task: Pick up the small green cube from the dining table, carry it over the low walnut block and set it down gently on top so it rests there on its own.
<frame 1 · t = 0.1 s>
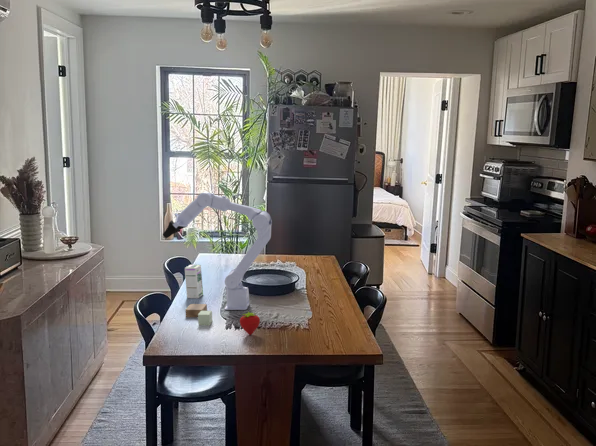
hand: (167, 234, 218), 32 cm above the table, tool tilted 50°, fingers open, 7 cm apart
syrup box: (194, 296, 237), on the table
green cube: (205, 323, 204), on the table
block: (196, 314, 214), on the table
strawberry: (250, 335, 191), on the table
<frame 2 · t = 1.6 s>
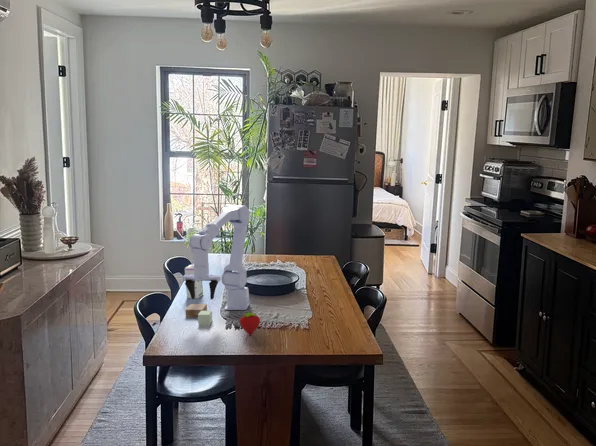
hand: (202, 298, 202), 10 cm above the table, tool pointing down, fingers open, 7 cm apart
nothing on the table moved.
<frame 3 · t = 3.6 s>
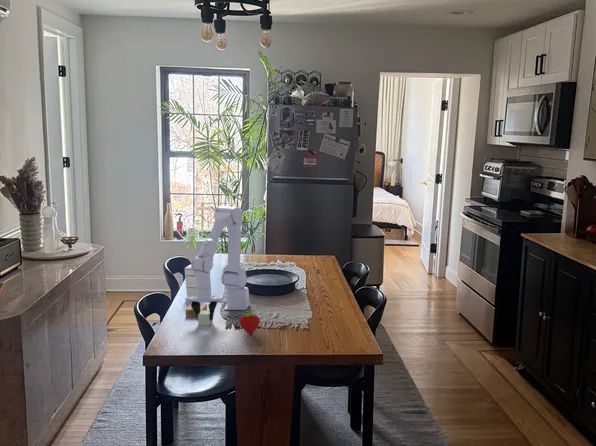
hand: (205, 319, 203), 1 cm above the table, tool pointing down, fingers closed on green cube, 4 cm apart
green cube: (205, 323, 204), on the table, touching gripper
everything else where it was.
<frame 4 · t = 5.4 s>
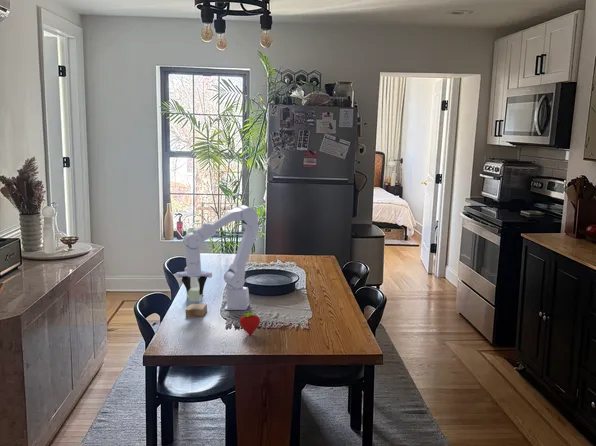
hand: (195, 294, 213), 9 cm above the table, tool pointing down, fingers closed on green cube, 4 cm apart
green cube: (195, 299, 212), point 6 cm above the table, touching gripper
everything else where it was.
when the fingers open (5 cm above the table, at t = 7.3 s): green cube stays where it is, resting on block.
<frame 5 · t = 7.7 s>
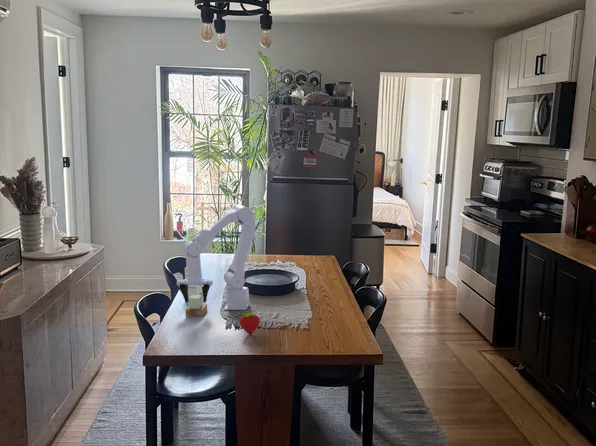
hand: (195, 301, 213), 5 cm above the table, tool pointing down, fingers open, 7 cm apart
green cube: (195, 306, 213), point 3 cm above the table, touching block
block: (196, 314, 214), on the table, touching green cube
everything else where it was.
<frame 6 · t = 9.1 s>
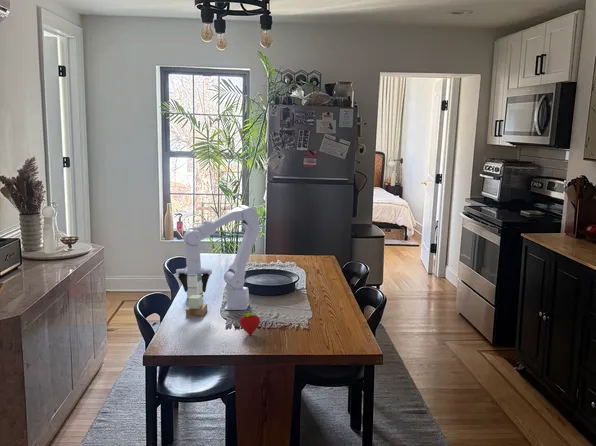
hand: (195, 291, 212), 10 cm above the table, tool pointing down, fingers open, 7 cm apart
nothing on the table moved.
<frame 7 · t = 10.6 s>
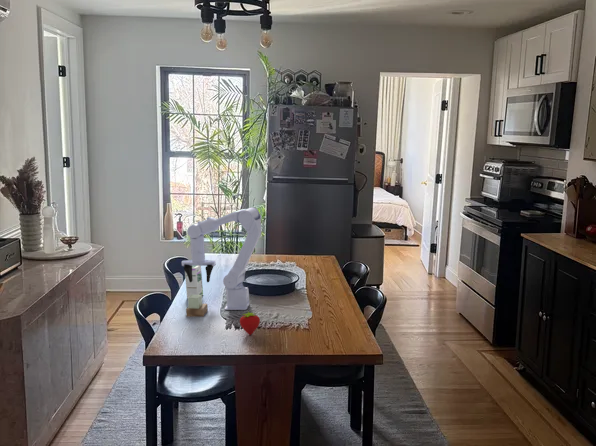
hand: (199, 281, 224), 10 cm above the table, tool pointing down, fingers open, 7 cm apart
nothing on the table moved.
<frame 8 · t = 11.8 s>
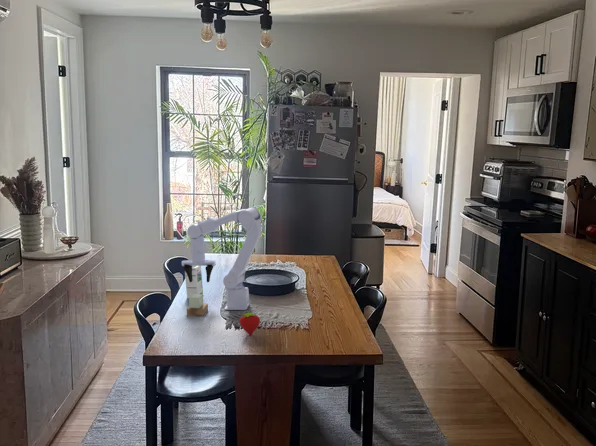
hand: (199, 281, 224), 10 cm above the table, tool pointing down, fingers open, 7 cm apart
green cube: (196, 306, 214), point 3 cm above the table
block: (197, 314, 215), on the table
everything else where it was.
at the end: green cube 0.4 cm off-centre on the block, point 3.5 cm above the block's base; green cube tilted 0°; the gripper is holding nothing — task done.
